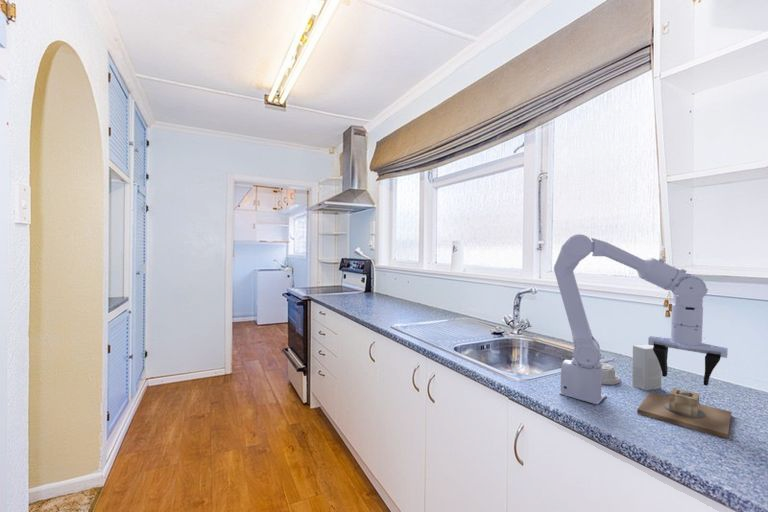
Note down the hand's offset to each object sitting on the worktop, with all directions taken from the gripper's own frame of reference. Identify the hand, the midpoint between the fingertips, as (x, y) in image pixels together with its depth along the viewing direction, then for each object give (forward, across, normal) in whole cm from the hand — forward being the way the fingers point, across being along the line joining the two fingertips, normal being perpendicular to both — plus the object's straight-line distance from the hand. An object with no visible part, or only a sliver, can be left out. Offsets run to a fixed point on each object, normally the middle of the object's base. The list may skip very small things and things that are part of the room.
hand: (684, 379), depth 87 cm
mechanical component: (+9, -21, +12) cm, 26 cm away
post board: (+8, 0, 0) cm, 9 cm away
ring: (+7, 0, 0) cm, 7 cm away
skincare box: (+9, -10, +14) cm, 19 cm away
